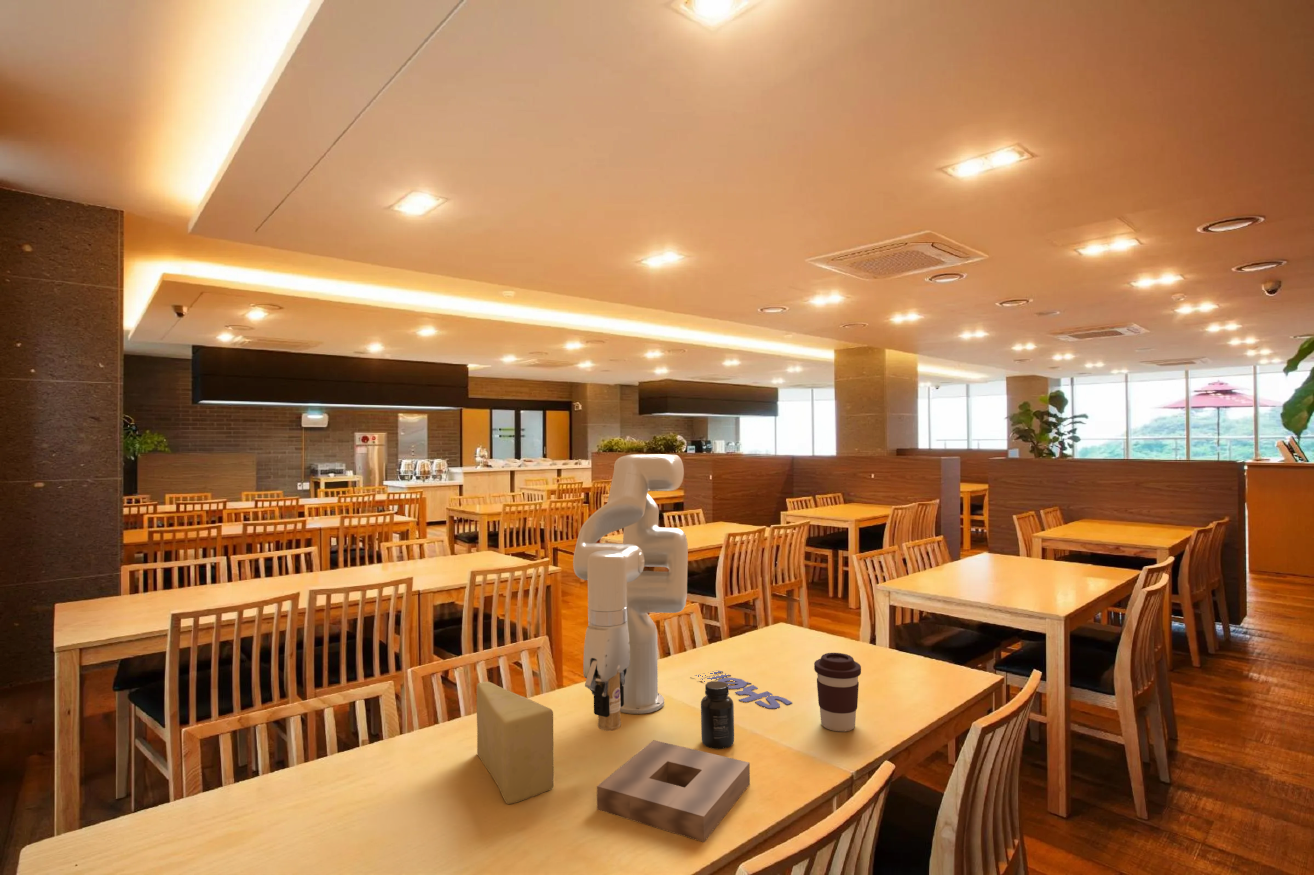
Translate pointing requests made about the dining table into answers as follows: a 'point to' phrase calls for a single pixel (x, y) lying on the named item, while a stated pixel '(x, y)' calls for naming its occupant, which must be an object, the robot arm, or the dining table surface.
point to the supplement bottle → (717, 716)
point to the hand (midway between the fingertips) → (609, 709)
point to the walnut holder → (675, 789)
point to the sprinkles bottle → (612, 705)
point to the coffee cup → (837, 690)
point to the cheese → (515, 742)
